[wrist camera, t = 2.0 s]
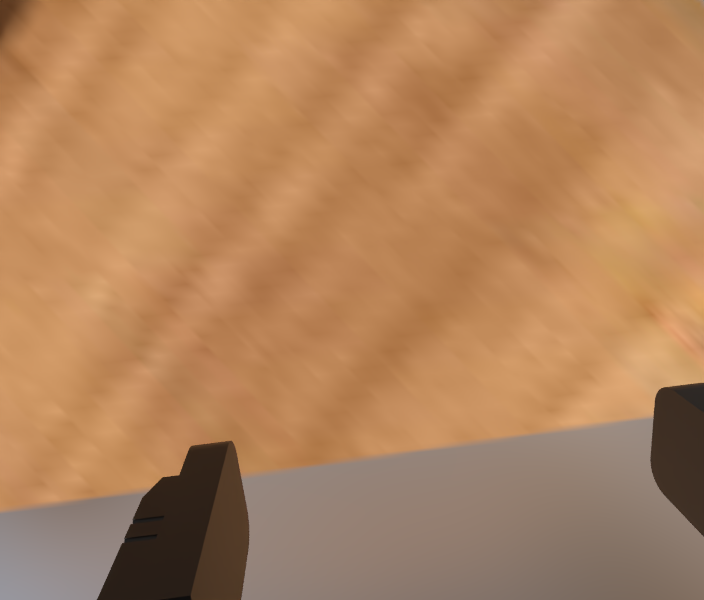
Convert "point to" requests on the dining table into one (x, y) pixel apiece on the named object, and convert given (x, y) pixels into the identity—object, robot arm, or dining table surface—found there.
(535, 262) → the dining table surface
